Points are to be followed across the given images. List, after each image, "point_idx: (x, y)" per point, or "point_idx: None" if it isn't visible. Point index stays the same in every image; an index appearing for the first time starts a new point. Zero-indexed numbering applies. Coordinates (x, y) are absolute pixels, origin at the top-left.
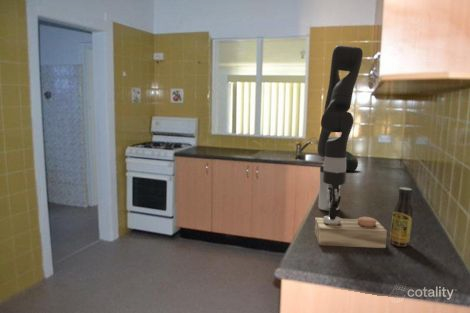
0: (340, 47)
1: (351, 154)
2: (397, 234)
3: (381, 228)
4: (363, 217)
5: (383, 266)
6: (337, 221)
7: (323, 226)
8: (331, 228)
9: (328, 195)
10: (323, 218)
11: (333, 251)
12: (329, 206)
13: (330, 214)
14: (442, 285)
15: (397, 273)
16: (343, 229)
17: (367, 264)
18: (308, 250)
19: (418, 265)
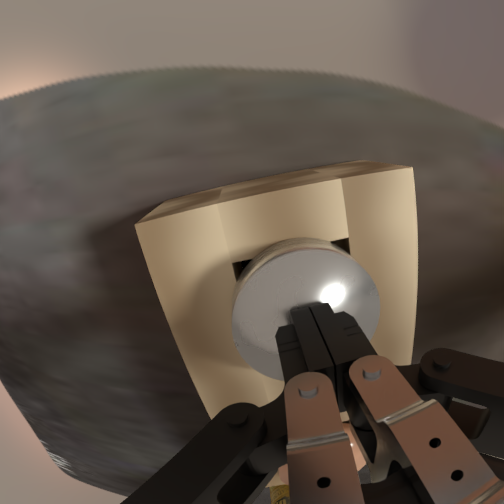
0: None
1: None
2: (274, 488)
3: (274, 480)
4: (357, 455)
5: (84, 411)
6: (250, 359)
7: (188, 246)
8: (166, 305)
9: (420, 479)
10: (301, 250)
11: (114, 275)
12: (299, 386)
13: (295, 334)
14: (73, 466)
15: (66, 425)
16: (189, 371)
17: (69, 378)
18: (78, 158)
19: (146, 469)
